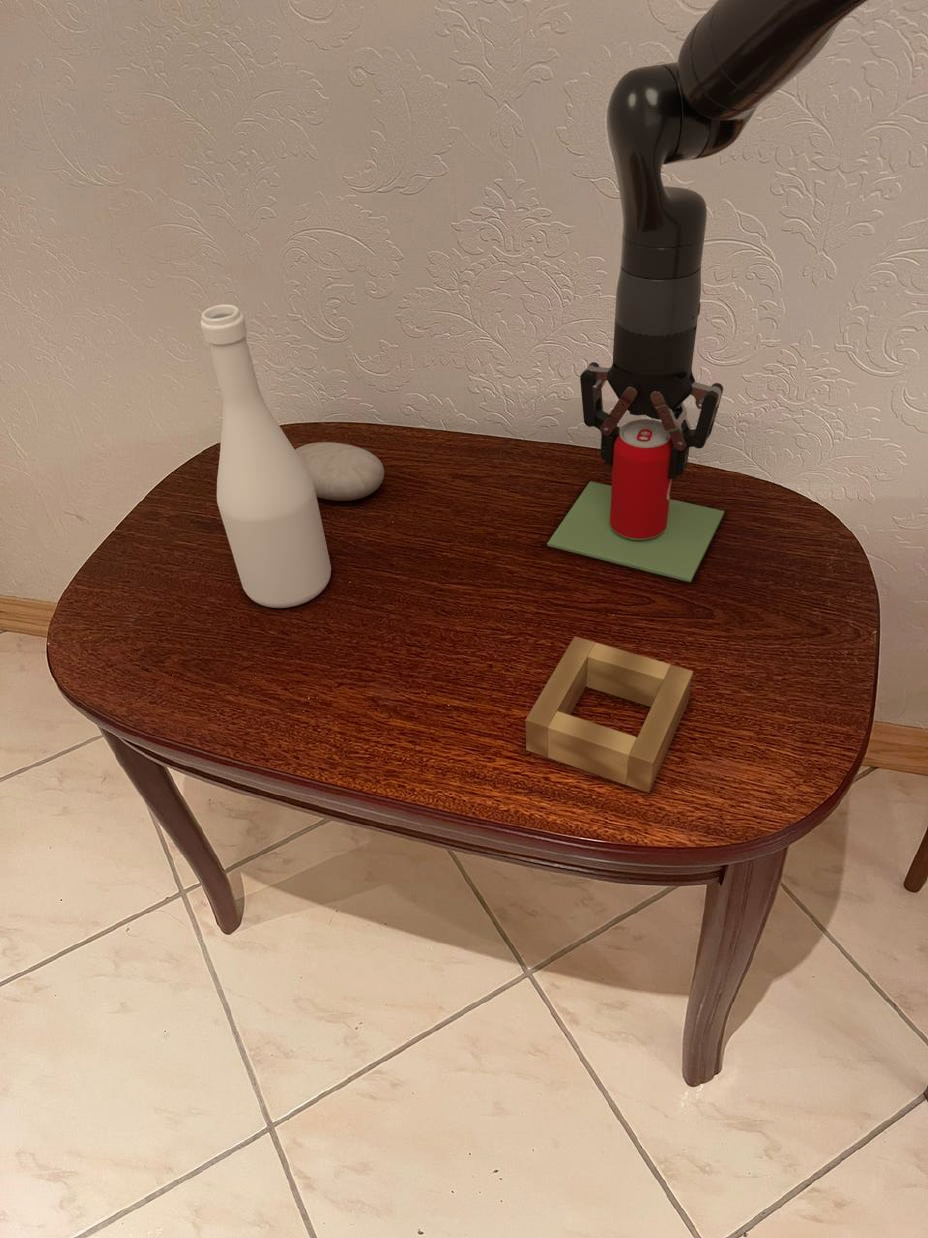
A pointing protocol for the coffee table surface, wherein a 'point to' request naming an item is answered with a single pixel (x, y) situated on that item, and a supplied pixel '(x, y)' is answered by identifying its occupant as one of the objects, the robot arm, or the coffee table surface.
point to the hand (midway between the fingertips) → (642, 468)
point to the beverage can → (641, 480)
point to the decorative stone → (341, 470)
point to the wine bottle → (262, 481)
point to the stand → (597, 744)
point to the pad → (660, 555)
